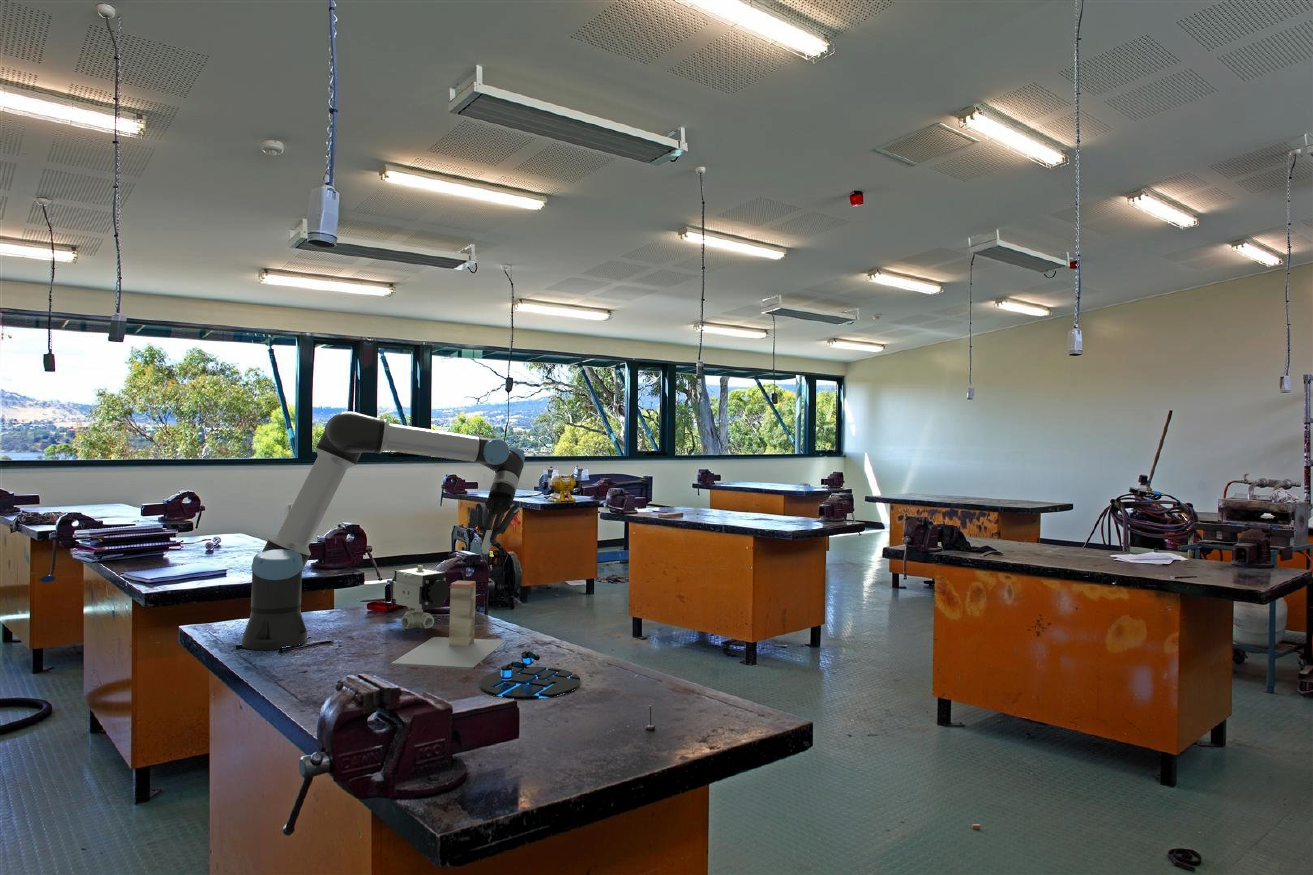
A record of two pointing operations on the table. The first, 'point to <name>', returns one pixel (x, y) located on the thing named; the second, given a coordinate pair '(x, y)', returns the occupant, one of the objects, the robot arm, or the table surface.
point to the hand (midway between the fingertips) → (484, 550)
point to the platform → (528, 680)
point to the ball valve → (419, 594)
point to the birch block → (462, 613)
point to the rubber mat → (448, 654)
